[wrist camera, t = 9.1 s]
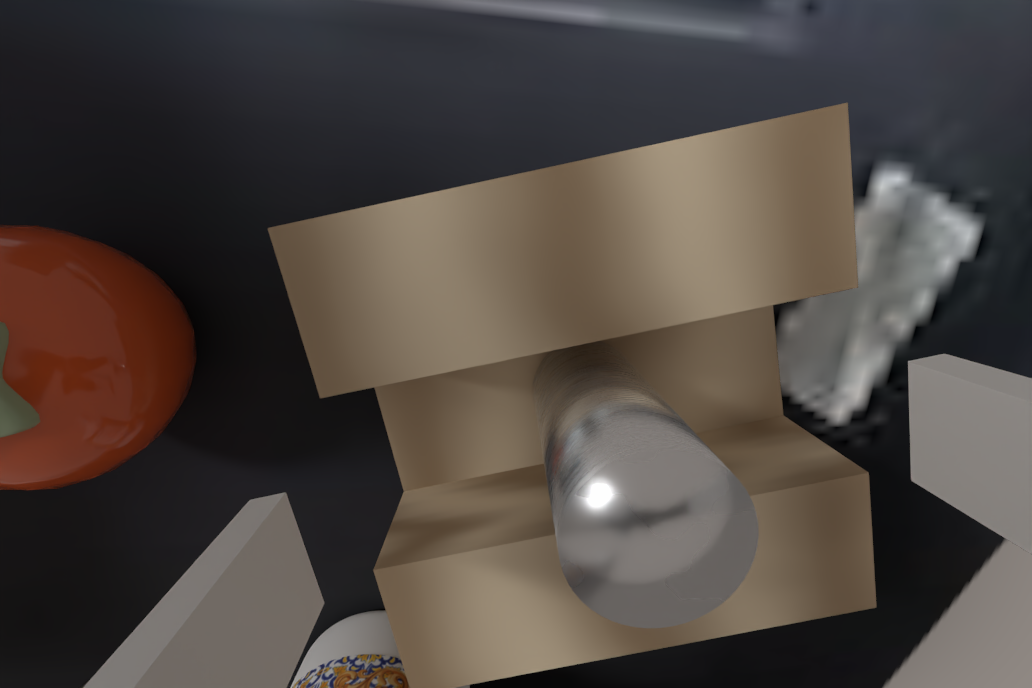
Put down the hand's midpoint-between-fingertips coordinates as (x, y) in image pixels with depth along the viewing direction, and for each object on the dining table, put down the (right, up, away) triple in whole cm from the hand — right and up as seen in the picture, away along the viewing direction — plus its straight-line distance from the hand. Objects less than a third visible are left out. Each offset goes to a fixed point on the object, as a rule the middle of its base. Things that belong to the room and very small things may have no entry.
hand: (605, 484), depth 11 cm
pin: (+1, +1, +7) cm, 7 cm away
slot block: (0, +2, +8) cm, 8 cm away
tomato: (-15, +3, +7) cm, 17 cm away
